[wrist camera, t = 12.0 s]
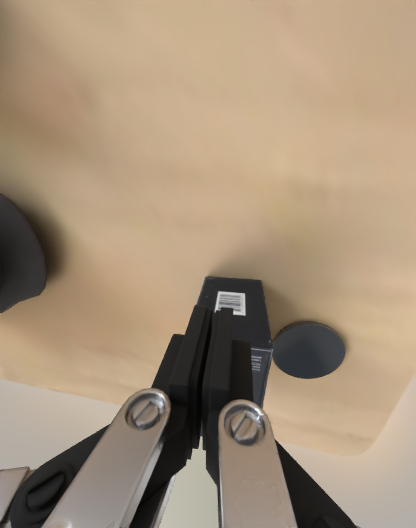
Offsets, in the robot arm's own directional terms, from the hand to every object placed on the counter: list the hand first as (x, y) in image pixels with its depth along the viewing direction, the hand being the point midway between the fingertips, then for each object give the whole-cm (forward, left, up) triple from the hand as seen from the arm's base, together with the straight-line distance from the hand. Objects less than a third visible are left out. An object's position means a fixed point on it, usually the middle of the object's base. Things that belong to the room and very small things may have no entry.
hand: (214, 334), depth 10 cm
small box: (0, +4, -9) cm, 10 cm away
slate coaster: (-9, +13, -15) cm, 22 cm away
